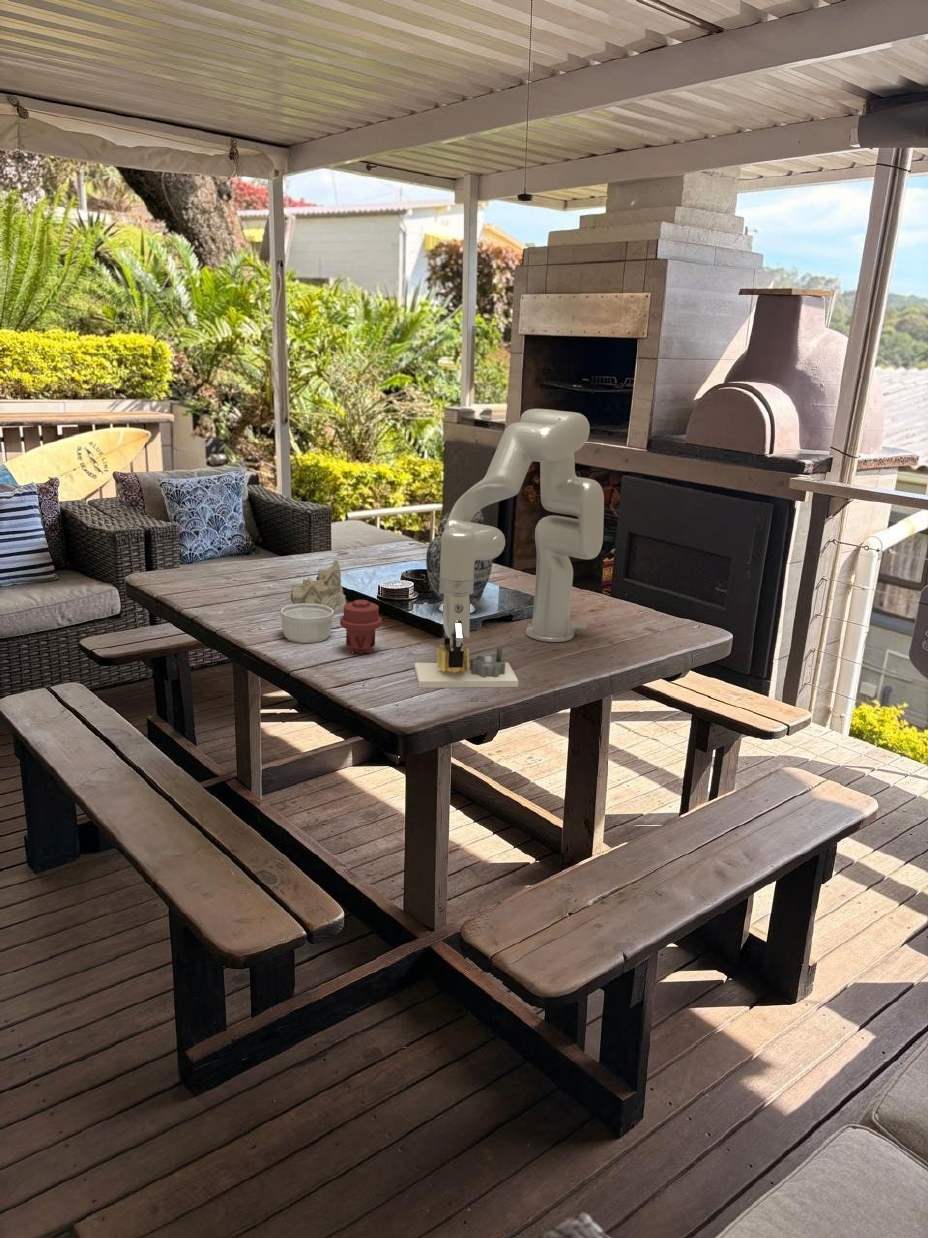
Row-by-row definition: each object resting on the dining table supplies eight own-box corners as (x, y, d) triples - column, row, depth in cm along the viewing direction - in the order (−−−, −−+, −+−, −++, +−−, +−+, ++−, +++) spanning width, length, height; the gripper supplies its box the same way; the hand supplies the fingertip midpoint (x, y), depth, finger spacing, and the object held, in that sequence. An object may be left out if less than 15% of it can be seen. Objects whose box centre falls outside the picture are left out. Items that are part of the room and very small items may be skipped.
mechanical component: (338, 657, 217) (340, 643, 227) (381, 657, 218) (381, 644, 228) (339, 607, 214) (341, 595, 223) (382, 608, 215) (382, 596, 224)
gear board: (507, 668, 215) (509, 640, 213) (517, 687, 204) (519, 657, 202) (414, 668, 212) (415, 640, 210) (419, 687, 201) (420, 657, 199)
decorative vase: (465, 624, 247) (469, 521, 239) (409, 612, 256) (411, 513, 248) (504, 607, 264) (509, 511, 256) (450, 597, 273) (453, 503, 266)
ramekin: (343, 634, 234) (343, 608, 232) (314, 648, 223) (314, 621, 221) (300, 625, 239) (300, 600, 237) (269, 639, 228) (269, 612, 226)
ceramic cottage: (349, 599, 265) (346, 549, 260) (345, 618, 249) (342, 565, 244) (294, 601, 264) (290, 550, 259) (288, 620, 248) (283, 567, 243)
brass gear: (465, 661, 211) (466, 643, 209) (470, 672, 204) (471, 653, 203) (435, 661, 210) (436, 643, 208) (438, 672, 203) (439, 653, 202)
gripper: (479, 596, 194) (475, 674, 199) (467, 575, 210) (464, 648, 215) (444, 595, 192) (441, 674, 198) (435, 575, 209) (432, 648, 214)
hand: (453, 660), depth 206 cm, fingers open, 7 cm apart
